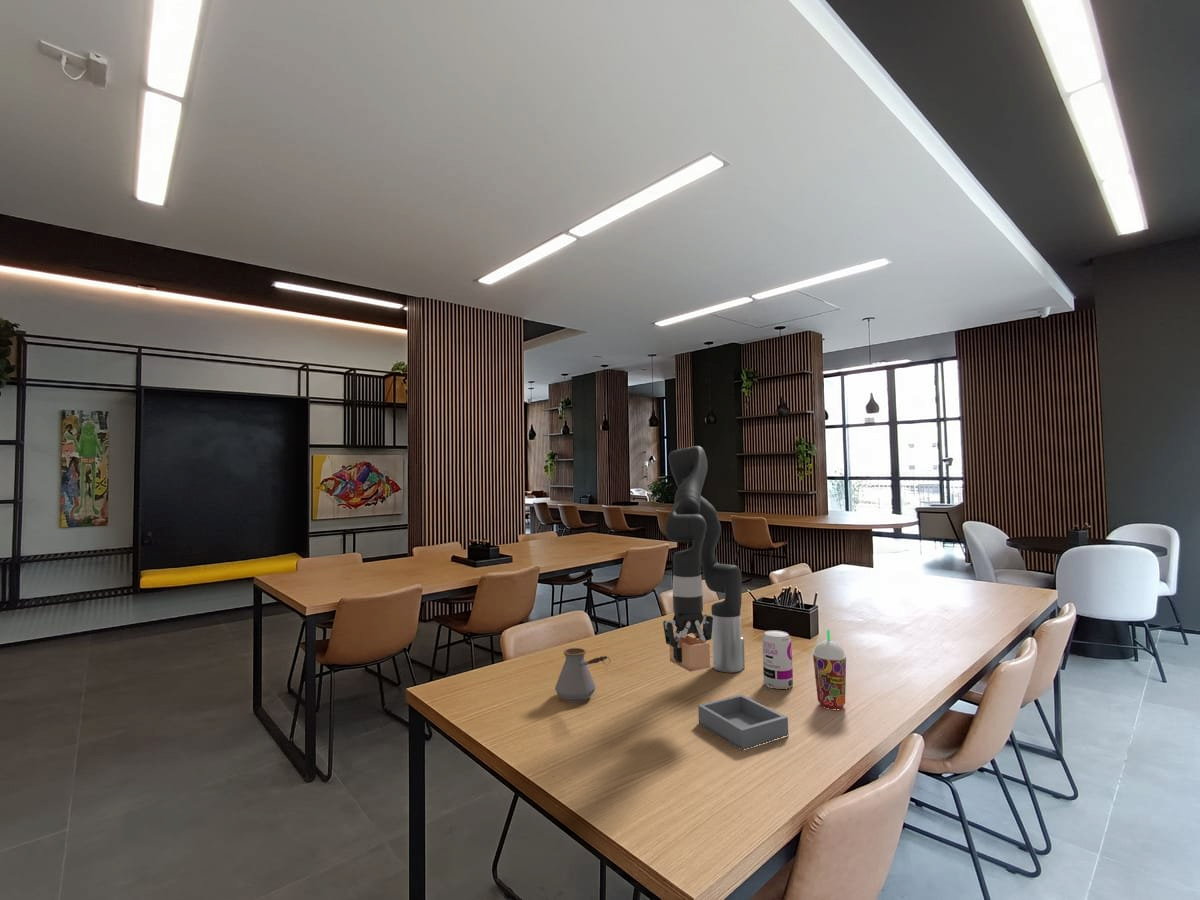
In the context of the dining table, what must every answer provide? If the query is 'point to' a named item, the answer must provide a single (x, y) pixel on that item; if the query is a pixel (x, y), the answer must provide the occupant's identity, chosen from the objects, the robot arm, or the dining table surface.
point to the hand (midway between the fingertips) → (689, 659)
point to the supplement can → (777, 659)
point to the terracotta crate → (693, 654)
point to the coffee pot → (576, 676)
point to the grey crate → (742, 721)
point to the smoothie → (830, 673)
